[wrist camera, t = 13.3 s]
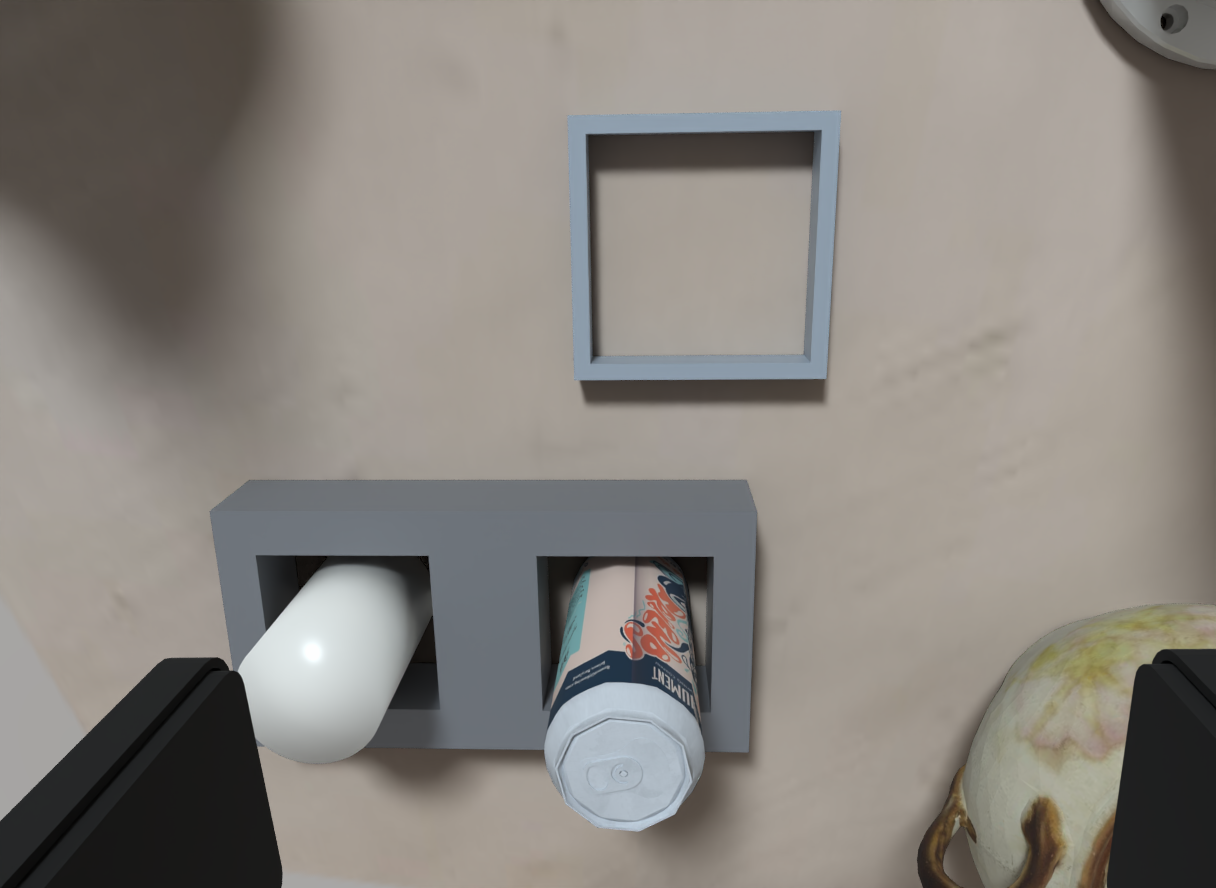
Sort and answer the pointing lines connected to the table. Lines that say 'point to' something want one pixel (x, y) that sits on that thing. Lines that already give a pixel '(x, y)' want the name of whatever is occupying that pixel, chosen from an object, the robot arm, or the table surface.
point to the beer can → (626, 695)
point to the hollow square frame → (818, 258)
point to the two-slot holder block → (455, 603)
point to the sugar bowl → (1057, 752)
